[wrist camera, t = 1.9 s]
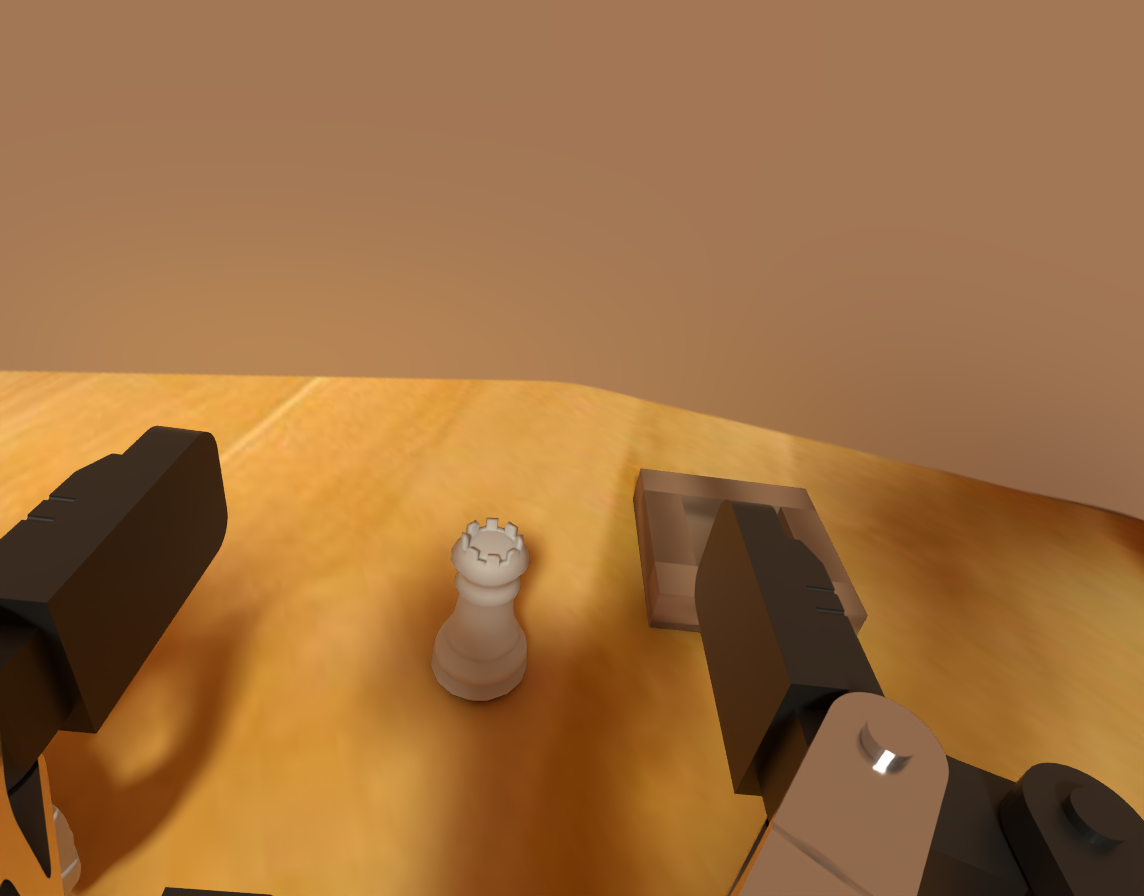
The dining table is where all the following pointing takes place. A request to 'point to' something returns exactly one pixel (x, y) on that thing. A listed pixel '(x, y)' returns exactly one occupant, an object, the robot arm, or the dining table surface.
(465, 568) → the rook chess piece
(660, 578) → the square tray
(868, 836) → the robot arm
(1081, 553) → the dining table surface
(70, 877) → the mug
